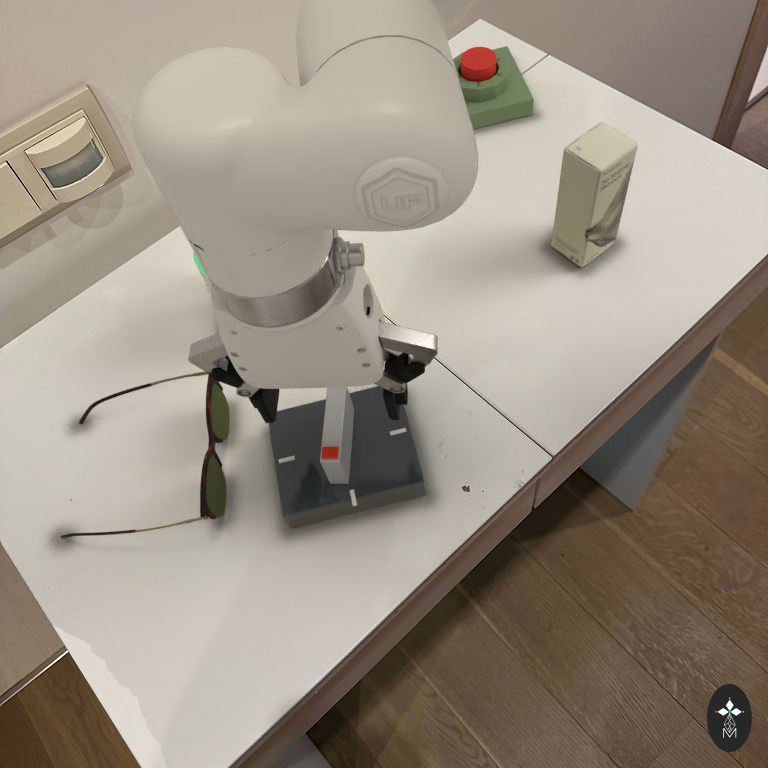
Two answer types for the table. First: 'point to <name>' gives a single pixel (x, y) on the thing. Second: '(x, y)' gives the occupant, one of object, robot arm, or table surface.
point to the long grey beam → (337, 435)
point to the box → (592, 192)
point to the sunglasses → (212, 473)
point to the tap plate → (367, 466)
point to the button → (478, 64)
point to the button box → (497, 92)
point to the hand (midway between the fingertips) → (333, 404)
